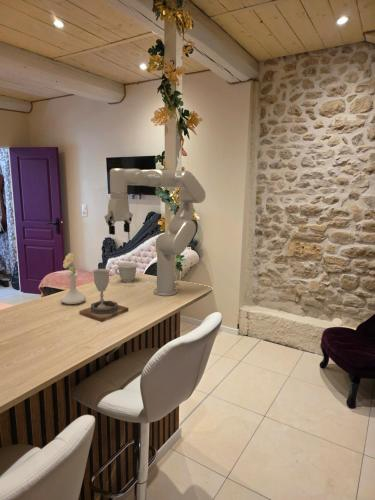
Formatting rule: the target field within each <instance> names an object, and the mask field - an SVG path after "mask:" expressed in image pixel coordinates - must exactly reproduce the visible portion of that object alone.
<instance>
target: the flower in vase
mask: <svg viewBox="0 0 375 500" xmlns="http://www.w3.org/2000/svg"><path fill="white" fill-rule="evenodd" d="M74 258H75V255H74V253H73V252H68V254H67V255H65V258H64V260H63V264H62V268H63V269H68V270H69V271H70V272H71V273H67V274H66V276H67V277H68V279H69V282H70V289H69V290H68V291H67V292H66V293H65V294H63V296H61V299H60V301H61V303H63V304H66V305H76V304H80V303H82V302H85V300H86V299H87V297H86V295H85V294H84V293H82V292H81V291H79V290H78V289H77V288H76V280H77V277H78V276H79V274H78V273H76V269H75V266H74V264H73V262H74ZM71 265H72V266H71Z"/></svg>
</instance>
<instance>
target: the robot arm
mask: <svg viewBox="0 0 375 500" xmlns="http://www.w3.org/2000/svg"><path fill="white" fill-rule="evenodd" d="M128 186H144V187H151V188H152V187H153V188H155V187H156V188H180V189H179V191H178V200H179V207H178V210H177V212H176V213H175V215H174V216H173V218H172V219H171V220H170V223H169V225H168V228H167V229H168V232H169V233H170V234H168V233H161V234H160V235H158V236H157V238H156V239H155V250H156V288H154V289H153V294H155V295H157V296H162V297H163V296H167V297H168V296H169V297H170V296H173V295H176V294H178V289H176V287H178V286H179V284H180V283H179V282H178V281H177V282H176V258H175V256H179V255H182V254H183V253H184V251H185V250H186V249H187V247H188V246H189V244H190V243H191V241H192V239H194V236H195V234H196V231H197V225H196V223H195V222H194V221H193V220H192V219H193V217H194V214H195V208H194V207H195V206H194V204H201V203H203V202H204V201H205V199H206V196H207V195H206V191H205V188H204V187H203V186H202V184H201V183H200V182H199V180H198V179H197V178H196V176H195V175H194V174H193V172H191V171H189V170H171V169H157V168H156V169H155V168H154V169H153V168H152V169H140V168H119V167H117V168H116V167H115V168H111V169H110V170H109V187H110V190H109V191H110V193H109V194H110V199H108V205H107V214H106V215H104V219H105V222H106V224H107V227H108V233H109V235H111V236H114V235H116V226H115V224H116V222H123V232H124V233H130V232H131V231H130V230H131V229H130V228H131V227H130V224H131V222H132V220H133V217H134V214H133V213H132V212H130V206H129V205H130V204H129V199H128V197H129V194H128Z"/></svg>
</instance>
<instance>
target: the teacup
mask: <svg viewBox="0 0 375 500" xmlns="http://www.w3.org/2000/svg"><path fill="white" fill-rule="evenodd" d="M138 265H139V264H137V263H134V262H120V263H118V264H117V265H116V267H115V268H114V273H115V274H116V275H117V276H119V277H120V279H122V282H123V283H132V282H133V279H135V277H136V273H137V266H138Z"/></svg>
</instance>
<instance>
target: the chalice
mask: <svg viewBox="0 0 375 500" xmlns="http://www.w3.org/2000/svg"><path fill="white" fill-rule="evenodd" d="M110 271H111V269H108V268H97V269H93V270H92V273H93V278H94V279H93V282H94V285H95V287H96V289H97V291H98V292H100V294H99V297H100V299H99V301H101V304H100V305H99V306H98V307H97V308H98V309H107V307H106V305H104V304H103V301H105V299H104V297H105V296H104V292H105V291H106V290H107V288H108V285H109V282H110V280H109V279H110Z"/></svg>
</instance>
